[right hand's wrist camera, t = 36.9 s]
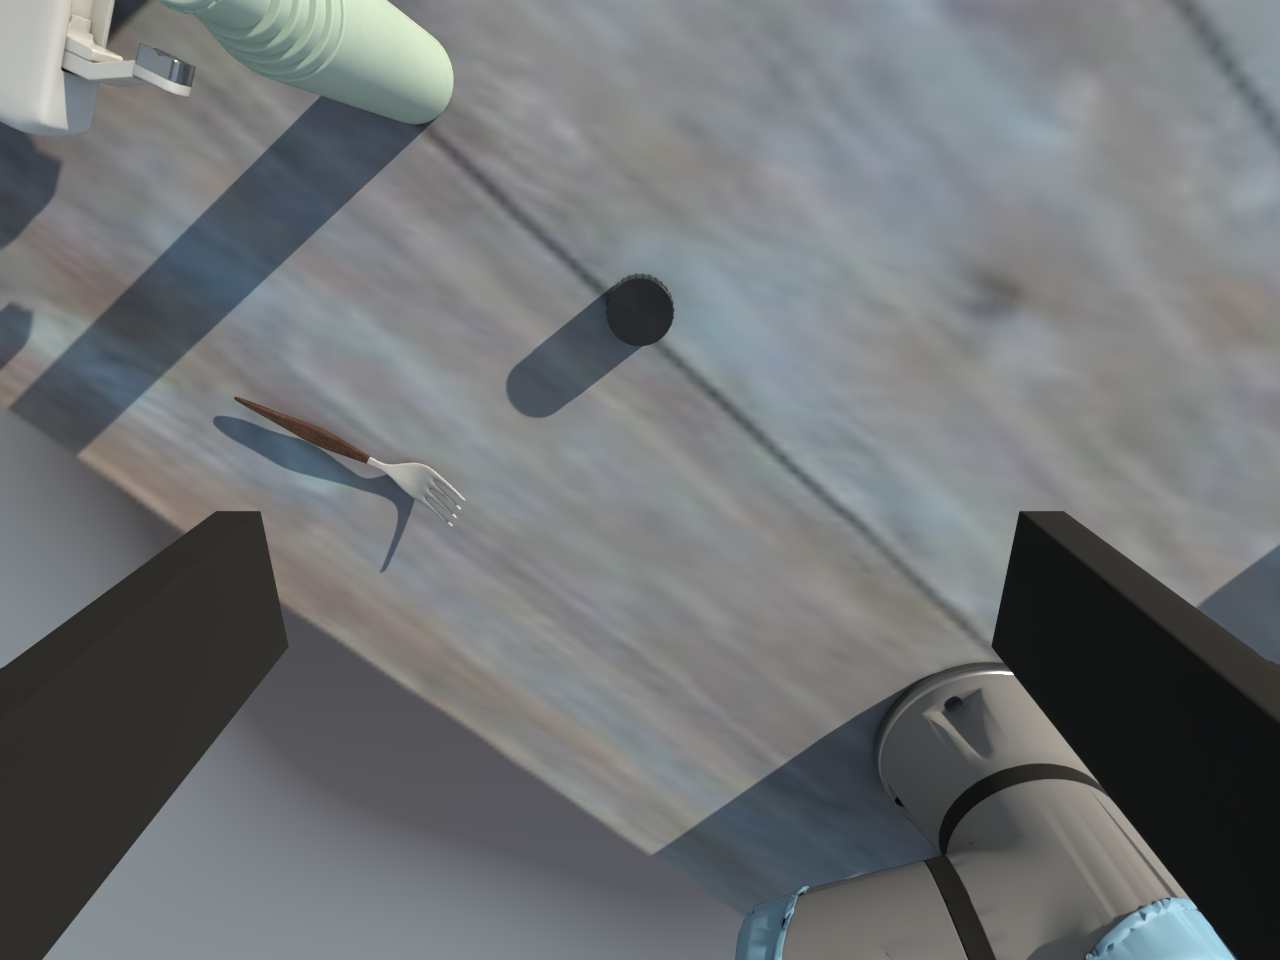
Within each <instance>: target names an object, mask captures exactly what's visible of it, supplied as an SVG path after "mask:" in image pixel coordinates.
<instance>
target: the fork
mask: <svg viewBox="0 0 1280 960" xmlns="http://www.w3.org/2000/svg"><path fill="white" fill-rule="evenodd" d="M234 399H235V400H236V401H238V402H239V403H241V404H243V405H244V406H246V407H248V408H250V409H251V410H253V411H255V412H257V413H259V414H260V415H262V416H264V417H266V418H268V419H270V420H271V421H273V422H275V423H277V424H278V425H280V426H282V427H284V428H285V429H287V430H289V431H291V432H292V433H294V434H296V435H298V436H299V437H301V438H303V439H305V440H307V441H309V442H310V443H313V444H315V445H317V446H319V447H322V448H324V449H327V450H330V451H332V452H335V453H338V454H341V455H344V456H347V457H350V458H353V459H355V460H358V461H361V462H364V463H367V464H370V465H372V466H375V467H377V468H379V469H381V470H383V471H384V472H386V473H387V474H388V475H389V476H390V477H391V478H392V479H393V480H394V481H395V482H396V483H397V484H398V485H399V486H400V487H401V488H402V489H403V490H404V491H405V492H406V493H407V494H408V495H410V496H411V497H412V498H414V499H415V500H417V501H419V502H420V503H422V504H423V505H425V506H426V507H428V508H429V509H430V510H432V511H433V512H434V513H435V514H437V515H438V516H439V517H440V518H442V519H443V520H444V521H445V522H447V523H448V524H449V525H450V526H451V527H452V526H453V525H452V524H451V523H450V522H449V521H448V520H447V519H446V518H445V517H444V516H443V515H442V514H441V513H440V512H439V511H438V510H437V509H436V508H435V507H434V506H433V505H432V504H430V503H429V501H428V500H427V497H429V498H431V499H432V500H434V501H435V502H436V503H438V504H439V505H440V506H441V507H443V508H444V509H445V510H446V511H448V512H449V513H450V514H451V515H452V516H453V517H455V518H457V517H456V516H455V515H454V513H453V512H452V511H451V510H450V509H449V508H448V507H447V506H446V505H444V504H443V503H442V502H441V501H440V500H439V499H438V498H437V497H436V496H435V495H434V494H433V493H432V492H431V489H434V490H436V491H437V492H438V493H440V494H441V495H442V496H444V497H445V498H446V499H447V500H449V501H450V502H451V503H452V504H454V505H455V506H456V507H457V508H458V509H461V508H460V507H459V506H458V505H457V504H456V503H455V502H454V501H453V500H452V499H451V498H450V497H449V496H448V495H447V494H446V493H445V492H444V491H443V490H442V489H441V488H440V487H439V486H437V484H436V483H435V480H437V481H439V482H440V483H442V484H443V485H445V486H446V487H447V488H448V489H450V490H451V491H452V492H454V493H455V494H456V495H457V496H459V497H460V498H461V499H462V500H463V501H465V499H464V498H463V497H462V496H461V495H460V494H459V493H458V492H457V491H456V490H455V489H454V488H453V487H452V486H451V485H450V484H449V483H448V482H447V481H445V480H444V479H443V478H442V477H441V476H440V475H439V474H437V473H436V472H435V471H434V470H433V469H431V468H430V467H428V466H426V465H424V464H420V463H403V464H392V465H390V464H384V463H381V462H379V461H377V460H375V459H373V458H372V457H370V456H368V455H367V454H365V453H363V452H362V451H360V450H358V449H357V448H355V447H354V446H352V445H350V444H349V443H347V442H345V441H344V440H342V439H340V438H338V437H337V436H335V435H333V434H331V433H330V432H328V431H326V430H324V429H321V428H319V427H317V426H314V425H311V424H309V423H306V422H303V421H300V420H298V419H295V418H292V417H289V416H286V415H284V414H281V413H278V412H276V411H273V410H271V409H268V408H266V407H263V406H261V405H258V404H256V403H253V402H250V401H248V400H245V399H242V398H239V397H235V398H234Z"/></svg>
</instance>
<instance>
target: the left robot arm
mask: <svg viewBox="0 0 1280 960" xmlns="http://www.w3.org/2000/svg"><path fill="white" fill-rule="evenodd" d="M114 3H115V0H0V122H2V123H4V124H6V125H8V126H10V127H12V128H14V129H17V130H19V131H22V132H25V133H29V134H33V135H38V136H44V137H52V138H68V137H73V136H76V135H80V134H83V133H86V132H87V131H89V129H90V127H91V124H92V120H93V114H94V108H95V103H96V98H97V93H98V87H99V83H104V84H108V85H112V86H117V87H124V86H134V85H144V84H153V85H155V86H157V87H159V88H161V89H163V90H165V91H168V92H171V93H173V94H176V95H180V96H185V97H189V94H190V90H191V86H192V81H193V77H194V72H195V68H196V67H195V66H193V65H191V64H189V63H187V62H185V61H182V60H179V59H178V58H177V57H175V56H173V55H171V54H169V53H167V52H165V51H163V50H160V49H157V48H152V47H150V46H148V45H144V44H141V43H140V45H139V49H138V54H137V58H136V61H135V60H131V61H123V59H122V57H121V56H119V55H117V54H115V53H113V52H111V51H109V50H107V49H106V45H107V40H108V35H109V29H110V24H111V19H112V14H113V8H114Z"/></svg>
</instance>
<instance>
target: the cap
mask: <svg viewBox="0 0 1280 960" xmlns="http://www.w3.org/2000/svg"><path fill="white" fill-rule="evenodd" d="M608 299H609V301H608V302H607V305H606V306H607V310H606V313H607V320H608V323H609V326H610V328H611V330H612V331H613V333H614V334H615V335H616V336H617V337H618V338H619V339H620V340H622V341H623V342H625V343H627V344H630V345H634V346H646V345H650V344H653V343H655V342H657V341H658V340H660V339H661V338H662V337H663V336H664V335H665V334H666V333H667V332H668V330H669V328H670V326H671V325H672V321H673V318H674V317H673V313H674V308H673V300H672V299H671V294H670V293H669V292H668V289H667V287H665V286H664V285H663V283H662V281H661V282H660V281H659V280H657V278H654V277H652V276H650V275H644V274H643V273H642V274H635V275H631V276H630V275H629V276H628V277H626V278H623V279H622V280H621V281H620V282H619V283H617V285H616V286H615V287H614V288H613V289H612V293H611V294H610V295H609V298H608Z"/></svg>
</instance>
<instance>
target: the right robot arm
mask: <svg viewBox="0 0 1280 960" xmlns="http://www.w3.org/2000/svg"><path fill="white" fill-rule="evenodd" d="M991 647H992V648H993V649H994V651H995V652H996V653H997V654H998V656H999V657H1000V658H1001V659H1002V661H1003V662H1004V663H1005V664H1004V663H989V662H984V663H972V664H966V665H961V666H957V667H953V668H950V669H947V670H944V671H941V672H939V673H936V674H934V675H932V676H930V677H928V678H926V679H924V680H923V681H921V682H919V683H918V684H916V685H915V686H913V687H912V688H911V689H909V690H908V691H907V692H906V693H905V694H903V695H902V696H901V697H900V698H899V699H898V700H897V701H896V702H895V704H894V705H893V706H892V707H891V708H890V710H889V711H888V713H887V714H886V716H885V717H884V719H883V721H882V723H881V725H880V728H879V730H878V733H877V736H876V741H875V750H874V756H875V764H876V768H877V771H878V774H879V776H880V779H881V781H882V784H883V786H884V788H885V790H886V792H887V794H888V795H889V797H890V798H891V800H892V802H893V803H894V804H895V806H896V807H897V808H898V810H899V811H900V812H901V813H902V814H903V815H904V816H905V817H906V818H907V819H908V820H910V821H911V822H912V824H913V825H914V826H915V827H916V829H917V830H918V831H919V832H920V833H921V834H922V835H923V836H924V837H925V838H926V839H927V840H928V841H929V842H930V843H931V844H932V845H933V847H934V848H935V849H936V850H937V851H938V852H939V853H940V854H941V856H939V857H935V858H931V859H928V860H922V861H918V862H914V863H910V864H906V865H902V866H898V867H894V868H890V869H885V870H881V871H877V872H873V873H869V874H865V875H861V876H857V877H853V878H849V879H845V880H841V881H837V882H833V883H828V884H824V885H820V886H816V887H812V888H811V887H809V886H804V887H800V888H799V889H797V890H796V891H795V892H794V893H793V894H790V895H787V896H783V897H780V898H777V899H774V900H771V901H767V902H764V903H761V904H759V905H757V906H755V907H754V908H753V909H751V910H750V912H749V913H748V915H747V916H746V918H745V919H744V921H743V924H742V926H741V929H740V931H739V935H738V940H737V947H736V959H735V960H1235V959H1234V958H1233V956H1232V955H1231V954H1230V952H1229V951H1228V950H1227V948H1226V947H1225V945H1224V944H1223V943H1222V941H1221V940H1220V938H1221V939H1222V940H1223V941H1224V943H1225V944H1226V945H1227V946H1228V948H1229V949H1230V950H1231V952H1232V953H1233V954H1234V955H1235V957H1236V958H1237V959H1238V960H1280V666H1279V665H1277V664H1275V663H1273V662H1271V661H1267V660H1266V659H1264V658H1263V657H1262V656H1260V655H1259V654H1258V653H1256V652H1255V651H1254V650H1252V649H1251V648H1249V647H1248V646H1247V645H1245V644H1244V643H1243V642H1241V641H1240V640H1239V639H1237V638H1236V637H1234V636H1233V635H1232V634H1230V633H1229V632H1228V631H1226V630H1225V629H1224V628H1222V627H1221V626H1219V625H1218V624H1217V623H1215V622H1214V621H1213V620H1211V619H1210V618H1209V617H1207V616H1206V615H1204V614H1203V613H1202V612H1200V611H1199V610H1198V609H1196V608H1195V607H1194V606H1192V605H1191V604H1189V603H1188V602H1187V601H1185V600H1184V599H1183V598H1181V597H1180V596H1179V595H1177V594H1176V593H1175V592H1173V591H1172V590H1170V589H1169V588H1168V587H1166V586H1165V585H1164V584H1162V583H1161V582H1160V581H1158V580H1157V579H1155V578H1154V577H1153V576H1151V575H1150V574H1149V573H1147V572H1146V571H1145V570H1143V569H1142V568H1140V567H1139V566H1138V565H1136V564H1135V563H1134V562H1132V561H1131V560H1130V559H1128V558H1127V557H1125V556H1124V555H1123V554H1121V553H1120V552H1119V551H1117V550H1116V549H1115V548H1113V547H1112V546H1110V545H1109V544H1108V543H1106V542H1105V541H1104V540H1102V539H1101V538H1100V537H1098V536H1097V535H1095V534H1094V533H1093V532H1091V531H1090V530H1089V529H1087V528H1086V527H1085V526H1083V525H1082V524H1080V523H1079V522H1078V521H1076V520H1075V519H1074V518H1072V517H1071V516H1070V515H1068V514H1067V513H1065V512H1064V511H1020V512H1019V516H1018V521H1017V526H1016V531H1015V536H1014V541H1013V545H1012V550H1011V555H1010V560H1009V565H1008V569H1007V574H1006V579H1005V584H1004V589H1003V593H1002V598H1001V603H1000V608H999V613H998V618H997V622H996V627H995V632H994V637H993V642H992V646H991ZM287 648H288V642H287V637H286V632H285V627H284V622H283V618H282V613H281V608H280V603H279V598H278V593H277V589H276V584H275V579H274V574H273V569H272V565H271V560H270V555H269V550H268V545H267V541H266V536H265V531H264V526H263V521H262V516H261V512H260V511H216V512H215V513H213V514H212V515H210V516H209V517H208V518H206V519H205V520H204V521H202V522H201V523H200V524H198V525H197V526H195V527H194V528H193V529H191V530H190V531H189V532H187V533H186V534H185V535H183V536H182V537H180V538H179V539H178V540H176V541H175V542H174V543H172V544H171V545H170V546H168V547H167V548H165V549H164V550H163V551H161V552H160V553H159V554H157V555H156V556H155V557H153V558H152V559H150V560H149V561H148V562H146V563H145V564H144V565H142V566H141V567H140V568H138V569H137V570H136V571H134V572H133V573H131V574H130V575H129V576H127V577H126V578H125V579H123V580H122V581H120V582H119V583H118V584H116V585H115V586H114V587H112V588H111V589H110V590H108V591H107V592H105V593H104V594H103V595H101V596H100V597H99V598H97V599H96V600H95V601H93V602H92V603H91V604H89V605H88V606H86V607H85V608H84V609H82V610H81V611H80V612H78V613H77V614H76V615H74V616H73V617H72V618H70V619H69V620H67V621H66V622H65V623H63V624H62V625H61V626H59V627H58V628H56V629H55V630H54V631H52V632H51V633H50V634H48V635H47V636H46V637H44V638H43V639H41V640H40V641H39V642H37V643H36V644H35V645H33V646H32V647H31V648H29V649H28V650H26V651H25V652H24V653H22V654H21V655H20V656H18V657H17V658H16V659H14V660H13V661H11V662H10V663H9V664H7V665H6V666H5V667H3V668H1V669H0V960H42V959H43V958H44V957H45V955H46V954H47V953H48V952H49V950H50V949H51V948H52V946H53V945H54V944H55V943H56V941H57V940H58V939H59V938H60V936H61V935H62V934H63V932H64V931H65V930H66V929H67V927H68V926H69V925H70V924H71V922H72V921H73V920H74V918H75V917H76V916H77V915H78V913H79V912H80V911H81V910H82V908H83V907H84V906H85V905H86V903H87V902H88V901H89V899H90V898H91V897H92V896H93V894H94V893H95V892H96V891H97V889H98V888H99V887H100V885H101V884H102V883H103V882H104V880H105V879H106V878H107V877H108V875H109V874H110V873H111V872H112V870H113V869H114V868H115V866H116V865H117V864H118V863H119V861H120V860H121V859H122V858H123V856H124V855H125V854H126V852H127V851H128V850H129V849H130V847H131V846H132V845H133V844H134V842H135V841H136V840H137V838H138V837H139V836H140V835H141V833H142V832H143V831H144V830H145V828H146V827H147V826H148V825H149V823H150V822H151V821H152V819H153V818H154V817H155V816H156V814H157V813H158V812H159V811H160V809H161V808H162V807H163V805H164V804H165V803H166V802H167V800H168V799H169V798H170V797H171V795H172V794H173V793H174V791H175V790H176V789H177V788H178V786H179V785H180V784H181V783H182V781H183V780H184V779H185V777H186V776H187V775H188V774H189V772H190V771H191V770H192V769H193V767H194V766H195V765H196V764H197V762H198V761H199V760H200V758H201V757H202V756H203V755H204V753H205V752H206V751H207V750H208V748H209V747H210V746H211V745H212V743H213V742H214V741H215V739H216V738H217V737H218V736H219V734H220V733H221V732H222V730H223V729H224V728H225V727H226V725H227V724H228V723H229V722H230V720H231V719H232V718H233V717H234V715H235V714H236V713H237V711H238V710H239V709H240V708H241V706H242V705H243V704H244V703H245V701H246V700H247V699H248V698H249V696H250V695H251V694H252V692H253V691H254V690H255V689H256V687H257V686H258V685H259V684H260V682H261V681H262V680H263V678H264V677H265V676H266V675H267V673H268V672H269V671H270V670H271V668H272V667H273V666H274V664H275V663H276V662H277V661H278V659H279V658H280V657H281V656H282V654H283V653H284V652H285V651H286V649H287ZM1100 785H1101V786H1102V787H1101V786H1100ZM1104 790H1105V791H1104ZM1107 794H1108V795H1109V796H1108V795H1107ZM1111 799H1112V800H1113V801H1112V800H1111ZM1115 804H1116V805H1117V806H1116V805H1115ZM1119 809H1120V810H1119ZM1123 814H1124V815H1123ZM1127 819H1128V820H1127ZM1214 930H1215V931H1216V932H1217V934H1218V935H1219V936H1220V938H1219V937H1218V936H1217V934H1216V933H1215V932H1214Z"/></svg>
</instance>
